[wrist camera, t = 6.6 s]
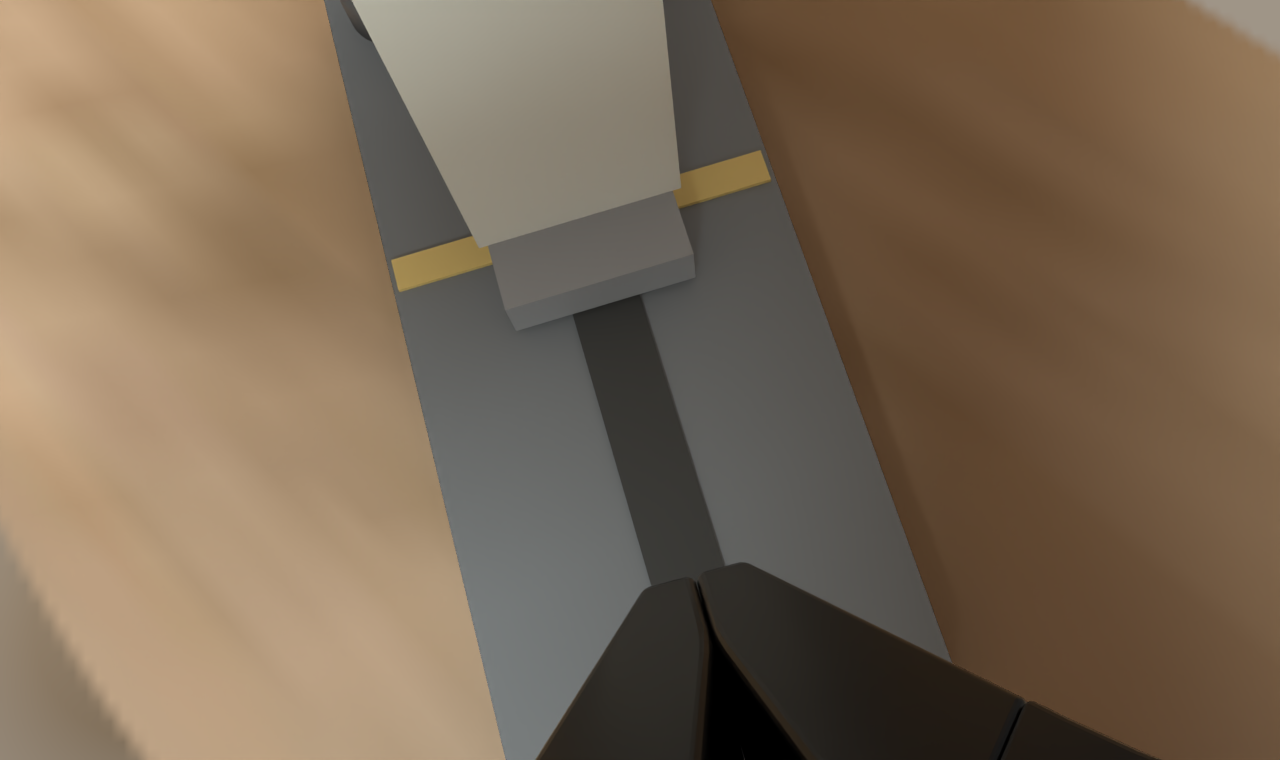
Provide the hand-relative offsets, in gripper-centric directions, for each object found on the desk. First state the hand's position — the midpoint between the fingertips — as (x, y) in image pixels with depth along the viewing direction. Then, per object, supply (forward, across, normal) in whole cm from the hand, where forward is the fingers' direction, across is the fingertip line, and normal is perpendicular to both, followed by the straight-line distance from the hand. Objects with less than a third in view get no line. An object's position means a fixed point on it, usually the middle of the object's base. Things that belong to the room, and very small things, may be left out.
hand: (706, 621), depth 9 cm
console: (+12, 0, -3) cm, 13 cm away
